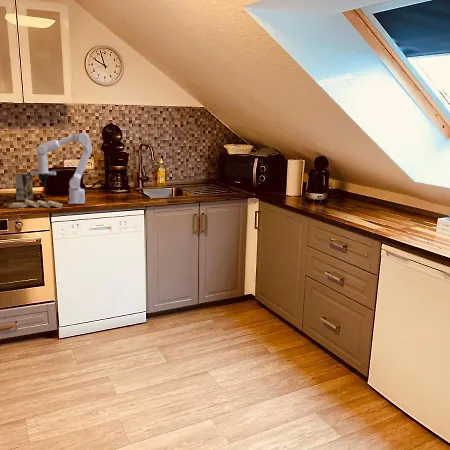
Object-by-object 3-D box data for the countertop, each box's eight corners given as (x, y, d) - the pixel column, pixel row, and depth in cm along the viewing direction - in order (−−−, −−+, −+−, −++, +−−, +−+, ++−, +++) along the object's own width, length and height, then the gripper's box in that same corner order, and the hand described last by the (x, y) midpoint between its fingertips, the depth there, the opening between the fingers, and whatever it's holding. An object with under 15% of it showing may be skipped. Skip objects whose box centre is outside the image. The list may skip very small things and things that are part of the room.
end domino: (25, 204, 283) (11, 204, 282) (23, 206, 279) (8, 206, 278) (25, 207, 284) (11, 207, 283) (23, 208, 279) (9, 208, 278)
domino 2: (39, 203, 285) (26, 199, 282) (39, 205, 280) (25, 200, 278) (39, 206, 285) (25, 201, 282) (38, 207, 280) (24, 203, 278)
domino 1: (26, 202, 282) (12, 202, 279) (26, 204, 278) (11, 204, 275) (26, 204, 283) (12, 205, 279) (27, 206, 278) (12, 207, 275)
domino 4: (62, 203, 287) (49, 200, 285) (61, 205, 282) (47, 201, 280) (62, 206, 287) (48, 202, 286) (60, 208, 282) (46, 204, 281)
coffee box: (25, 200, 301) (23, 175, 297) (16, 199, 302) (14, 174, 298) (33, 198, 310) (32, 173, 306) (24, 197, 311) (23, 172, 307)
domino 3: (52, 203, 286) (38, 200, 285) (50, 205, 281) (36, 201, 280) (51, 206, 286) (38, 202, 285) (49, 207, 282) (35, 204, 280)
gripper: (56, 163, 294) (57, 185, 298) (31, 163, 292) (33, 185, 295) (54, 165, 288) (55, 187, 291) (29, 164, 285) (30, 187, 288)
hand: (44, 186), depth 293 cm, fingers closed
